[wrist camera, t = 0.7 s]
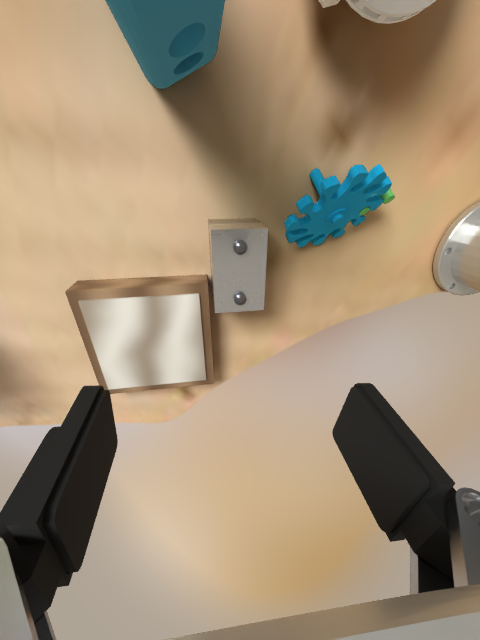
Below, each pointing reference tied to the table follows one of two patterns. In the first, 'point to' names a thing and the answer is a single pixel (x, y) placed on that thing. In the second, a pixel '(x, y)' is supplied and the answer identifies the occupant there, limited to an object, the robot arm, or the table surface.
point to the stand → (145, 331)
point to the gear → (338, 204)
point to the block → (169, 35)
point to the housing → (238, 264)
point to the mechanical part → (384, 9)
